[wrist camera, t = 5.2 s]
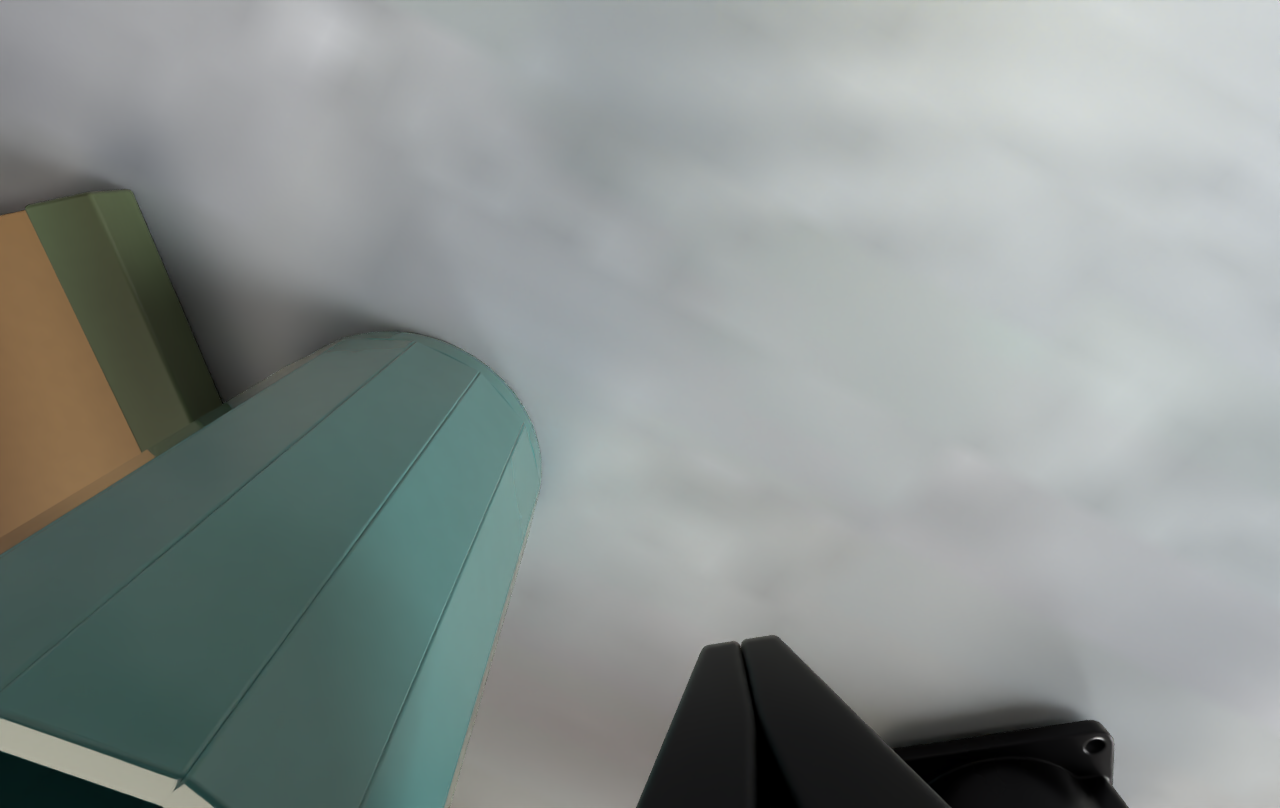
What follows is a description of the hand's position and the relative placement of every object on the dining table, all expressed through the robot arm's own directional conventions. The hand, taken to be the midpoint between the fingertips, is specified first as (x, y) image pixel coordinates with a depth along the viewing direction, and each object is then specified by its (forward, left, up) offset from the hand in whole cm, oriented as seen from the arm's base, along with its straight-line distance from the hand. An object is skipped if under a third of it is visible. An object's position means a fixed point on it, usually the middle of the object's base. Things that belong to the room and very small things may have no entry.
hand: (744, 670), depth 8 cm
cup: (+7, 0, -8) cm, 11 cm away
